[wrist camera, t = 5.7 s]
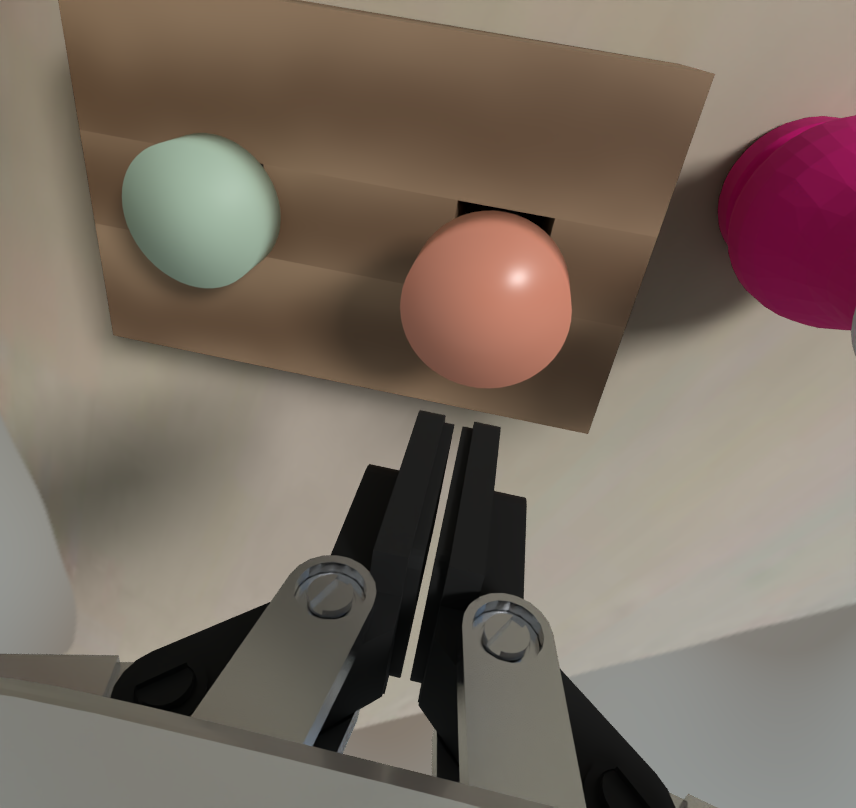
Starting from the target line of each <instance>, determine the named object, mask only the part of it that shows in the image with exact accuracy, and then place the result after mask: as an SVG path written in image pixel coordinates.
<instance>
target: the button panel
mask: <svg viewBox="0 0 856 808" xmlns="http://www.w3.org/2000/svg"><path fill="white" fill-rule="evenodd" d="M58 1H59V8H60V14H61V20H62V26H63V32H64V38H65V44H66V50H67V56H68V62H69V68H70V74H71V80H72V86H73V93H74V99H75V105H76V111H77V117H78V123H79V129H80V135H81V141H82V147H83V153H84V159H85V165H86V172H87V178H88V184H89V190H90V196H91V202H92V208H93V214H94V220H95V226H96V232H97V238H98V244H99V250H100V257H101V263H102V269H103V275H104V281H105V287H106V293H107V299H108V305H109V311H110V317H111V323H112V329H113V335H115V336H120V337H125V338H129V339H134V340H139V341H144V342H149V343H153V344H158V345H163V346H168V347H173V348H177V349H182V350H187V351H192V352H197V353H201V354H206V355H211V356H216V357H221V358H226V359H230V360H235V361H240V362H245V363H250V364H254V365H259V366H264V367H269V368H274V369H278V370H283V371H288V372H293V373H298V374H302V375H307V376H312V377H317V378H322V379H326V380H331V381H336V382H341V383H346V384H350V385H355V386H360V387H365V388H370V389H374V390H379V391H384V392H389V393H394V394H398V395H403V396H408V397H413V398H418V399H423V400H427V401H432V402H437V403H442V404H447V405H451V406H456V407H461V408H466V409H471V410H475V411H480V412H485V413H490V414H495V415H499V416H504V417H509V418H514V419H519V420H523V421H528V422H533V423H538V424H543V425H547V426H552V427H557V428H562V429H567V430H571V431H576V432H581V433H586V434H588V433H589V430H590V427H591V424H592V421H593V418H594V416H595V413H596V410H597V407H598V404H599V401H600V399H601V396H602V393H603V390H604V387H605V384H606V382H607V379H608V376H609V373H610V370H611V367H612V365H613V362H614V359H615V356H616V353H617V350H618V347H619V345H620V342H621V339H622V336H623V333H624V330H625V328H626V325H627V322H628V319H629V316H630V313H631V311H632V308H633V305H634V302H635V299H636V296H637V294H638V291H639V288H640V285H641V282H642V279H643V277H644V274H645V271H646V268H647V265H648V262H649V260H650V257H651V254H652V251H653V248H654V245H655V243H656V240H657V237H658V234H659V231H660V228H661V226H662V223H663V220H664V217H665V214H666V211H667V208H668V206H669V203H670V200H671V197H672V194H673V191H674V189H675V186H676V183H677V180H678V177H679V174H680V172H681V169H682V166H683V163H684V160H685V157H686V155H687V152H688V149H689V146H690V143H691V140H692V138H693V135H694V132H695V129H696V126H697V123H698V121H699V118H700V115H701V112H702V109H703V106H704V104H705V101H706V98H707V95H708V92H709V89H710V87H711V84H712V81H713V78H714V75H715V74H713V73H709V72H706V71H702V70H699V69H695V68H691V67H688V66H684V65H681V64H676V63H670V62H664V61H658V60H652V59H646V58H640V57H634V56H628V55H622V54H616V53H610V52H604V51H598V50H592V49H586V48H580V47H574V46H568V45H562V44H557V43H551V42H545V41H539V40H533V39H527V38H521V37H515V36H509V35H503V34H497V33H491V32H485V31H479V30H473V29H467V28H461V27H455V26H449V25H443V24H437V23H431V22H425V21H420V20H414V19H408V18H402V17H396V16H390V15H384V14H378V13H372V12H366V11H360V10H354V9H348V8H342V7H336V6H330V5H324V4H318V3H312V2H306V1H300V0H58ZM194 133H209V134H215V135H219V136H222V137H225V138H227V139H230V140H232V141H233V142H235V143H237V144H239V145H240V146H242V147H243V148H244V149H246V150H247V151H248V152H249V153H250V154H251V155H253V156H254V157H255V158H256V160H257V161H258V162H259V163H261V164H263V165H264V169H265V171H266V172H267V174H268V176H269V177H270V179H271V181H272V183H273V185H274V188H275V190H276V193H277V196H278V200H279V205H280V213H281V222H280V230H279V235H278V238H277V240H276V243H275V245H274V247H273V249H272V250H271V251H270V253H269V254H268V255H267V256H266V257H265V258H264V259H263V260H262V261H261V262H260V263H258V264H257V265H256V266H255V267H253V268H252V269H251V270H250V271H249V272H247V273H246V274H245V275H244V276H243V277H241V278H240V279H238V280H237V281H236V282H234V283H231V284H229V285H227V286H223V287H219V288H199V287H194V286H190V285H187V284H184V283H182V282H179V281H177V280H175V279H173V278H171V277H170V276H168V275H167V274H165V273H164V272H162V271H161V270H160V269H159V268H157V267H156V266H155V265H154V264H153V263H152V262H151V261H150V260H149V259H148V258H147V257H146V256H145V255H144V253H143V252H142V251H141V249H140V248H139V247H138V245H137V244H136V242H135V240H134V238H133V237H132V235H131V233H130V230H129V228H128V226H127V223H126V220H125V216H124V212H123V207H122V186H123V181H124V177H125V174H126V172H127V169H128V168H129V166H130V164H131V162H132V161H133V160H134V159H135V157H136V156H137V155H139V154H140V153H141V152H142V151H143V150H145V149H147V148H148V147H150V146H153V145H156V144H158V143H162V142H165V141H168V140H172V139H175V138H178V137H181V136H185V135H189V134H194ZM468 202H470V203H475V204H481V205H486V206H491V207H497V208H502V209H508V210H513V211H518V212H524V213H529V214H534V215H540V216H545V218H544V222H543V227H542V229H543V230H544V231H545V232H546V233H547V234H548V235H549V236H550V237H551V238H552V239H553V241H554V242H555V244H556V245H557V246H558V248H559V250H560V251H561V253H562V255H563V257H564V260H565V263H566V265H567V270H568V274H569V283H570V294H571V306H572V315H571V323H570V328H569V332H568V335H567V337H566V340H565V342H564V344H563V346H562V348H561V349H560V351H559V352H558V354H557V355H556V356H555V358H554V359H553V360H552V361H551V362H550V363H549V364H548V365H547V366H546V367H545V368H544V369H543V370H541V371H540V372H539V373H537V374H536V375H534V376H532V377H531V378H529V379H527V380H524V381H522V382H520V383H517V384H514V385H511V386H506V387H501V388H475V387H469V386H465V385H461V384H458V383H455V382H453V381H450V380H448V379H446V378H444V377H442V376H441V375H439V374H438V373H436V372H435V371H433V370H432V369H431V368H429V367H428V366H427V365H426V364H425V363H424V362H423V361H422V360H421V359H420V358H419V357H418V355H417V354H416V353H415V351H414V350H413V348H412V347H411V345H410V343H409V341H408V339H407V337H406V335H405V332H404V329H403V325H402V321H401V313H400V300H401V293H402V288H403V285H404V282H405V279H406V277H407V275H408V273H409V271H410V269H411V267H412V265H413V264H414V262H415V260H416V258H417V256H418V255H419V253H420V251H421V249H422V248H423V246H424V245H425V243H426V242H427V240H428V239H429V238H430V237H431V236H432V235H433V234H434V233H435V232H436V231H437V230H438V229H439V228H441V227H442V226H443V225H445V224H446V223H448V222H449V221H451V220H453V219H455V218H457V217H460V216H462V215H465V214H466V211H467V205H468Z"/></svg>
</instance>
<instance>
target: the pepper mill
mask: <svg viewBox="0 0 856 808" xmlns="http://www.w3.org/2000/svg"><path fill="white" fill-rule="evenodd" d="M718 221H719V227H720V231H721V234H722V236H723V239H724V240H725V242H726V243H727V245H728V253H729V257H730V260H731V264H732V267H733V270H734V272H735V274H736V276H737V278H738V280H739V281H740V283H741V284H742V285H743V287H744V288H745V289H746V291H748V292H749V293H750V294H751V295H752V296H753V297H754V298H756V299H757V300H758V301H759V302H760V303H761V304H762V305H763V306H765V307H766V308H768V309H770V310H771V311H773V312H774V313H776V314H778V315H780V316H782V317H785V318H787V319H790V320H793V321H796V322H799V323H802V324H805V325H809V326H813V327H817V328H827V329H839V330H851V337H852V345H853V349H854V353H855V355H856V115H855V116H850V117H845V118H836V117H827V116H819V117H808V118H803V119H800V120H796V121H792V122H789V123H786V124H784V125H782V126H779V127H777V128H775V129H773V130H771V131H770V132H768V133H767V134H765V135H764V136H762V137H760V138H759V139H758V140H757V141H756V142H755V143H753V144H752V145H751V146H750V147H749V148H748V149H747V150H746V151H745V152H744V153H743V154H742V155H741V157H740V158H739V159H738V160H737V161H736V163H735V164H734V165H733V167H732V168H731V170H730V172H729V173H728V175H727V177H726V179H725V181H724V184H723V187H722V190H721V193H720V197H719V202H718Z"/></svg>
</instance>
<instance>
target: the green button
mask: <svg viewBox="0 0 856 808" xmlns="http://www.w3.org/2000/svg"><path fill="white" fill-rule="evenodd" d="M122 207H123V212H124V216H125V220H126V223H127V226H128V228H129V230H130V233H131V235H132V237H133V238H134V240H135V242H136V244H137V245H138V247H139V248H140V249H141V251H142V252H143V253H144V255H145V256H146V257H147V258H148V259H149V260H150V261H151V262H152V263H153V264H154V265H155V266H156V267H157V268H159V269H160V270H161V271H162V272H164V273H165V274H167V275H168V276H170V277H171V278H173V279H175V280H177V281H179V282H182V283H184V284H187V285H190V286H194V287H199V288H219V287H223V286H227V285H229V284H231V283H234V282H236V281H237V280H238V279H240V278H241V277H243V276H244V275H245V274H246V273H247V272H249V271H250V270H251V269H252V268H253V267H255V266H256V265H257V264H258V263H260V262H261V261H262V260H263V259H264V258H265V257H266V256H267V255H268V254H269V253H270V251H271V250H272V249H273V247H274V245H275V243H276V240H277V238H278V235H279V230H280V222H281V213H280V205H279V200H278V196H277V193H276V190H275V188H274V185H273V183H272V181H271V179H270V177H269V176H268V174H267V172H266V171H265V169H264V165H263V164H261V163H259V162H258V161H257V160H256V158H255V157H254V156H253V155H251V154H250V153H249V152H248V151H247V150H246V149H244V148H243V147H242V146H240V145H239V144H237V143H235V142H233V141H232V140H230V139H227V138H225V137H222V136H219V135H215V134H209V133H194V134H189V135H185V136H181V137H178V138H175V139H172V140H168V141H165V142H162V143H158V144H156V145H153V146H150V147H148V148H147V149H145V150H143V151H142V152H141V153H140V154H139V155H137V156H136V157H135V159H134V160H133V161H132V162H131V164H130V166H129V168H128V169H127V172H126V174H125V177H124V181H123V186H122Z"/></svg>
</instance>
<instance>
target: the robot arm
mask: <svg viewBox="0 0 856 808" xmlns="http://www.w3.org/2000/svg"><path fill="white" fill-rule="evenodd" d="M453 429H454V424H449V423H445V415H440V414H436V413H431V412H426V411H421V410H420V411H419V413H418V416H417V419H416V422H415V425H414V428H413V431H412V434H411V437H410V440H409V443H408V446H407V449H406V452H405V455H404V458H403V461H402V464H401V467H400V470H395V469H390V468H385V467H381V466H376V465H371V464H369V465H368V466H367V469H366V471H365V473H364V475H363V478H362V480H361V483H360V485H359V488H358V490H357V492H356V495H355V497H354V500H353V502H352V505H351V507H350V509H349V512H348V514H347V517H346V519H345V522H344V524H343V527H342V529H341V531H340V534H339V536H338V539H337V541H336V544H335V546H334V548H333V551H332V553H331V555H326V556H320V557H316V558H312V559H309V560H307V561H306V562H304V563H302V564H300V565H299V566H298V567H297V568H296V569H295V570H294V571H293V572H292V573H291V574H290V575H289V576H288V578H287V579H286V581H285V582H284V584H283V585H282V586H281V588H280V589H279V591H278V592H277V594H276V595H275V596H274V598H273V599H272V601H271V602H269V603H267V604H264V605H262V606H260V607H257V608H255V609H252V610H250V611H248V612H245V613H243V614H241V615H238V616H236V617H233V618H231V619H229V620H226V621H224V622H221V623H219V624H217V625H214V626H212V627H209V628H207V629H205V630H202V631H200V632H198V633H195V634H193V635H190V636H188V637H186V638H183V639H181V640H178V641H176V642H174V643H171V644H169V645H167V646H164V647H162V648H159V649H157V650H155V651H152V652H150V653H149V654H147V655H145V656H143V657H141V658H140V659H138V660H136V661H135V662H120V660H119V655H53V654H49V655H48V654H0V808H717V807H714V806H712V805H710V804H708V803H706V802H704V801H702V800H700V799H698V798H696V797H694V796H692V795H690V794H688V795H687V796H686V798H685V799H681V798H679V797H677V796H675V795H673V794H671V793H669V791H668V789H667V788H666V787H665V785H664V784H663V783H662V781H661V780H660V778H659V777H658V776H657V774H656V773H655V772H654V771H653V770H652V769H651V768H650V767H649V765H648V764H647V763H646V762H645V761H644V760H643V759H642V758H641V757H640V756H639V755H638V754H637V752H636V751H635V750H634V749H633V748H632V747H631V746H630V745H629V744H628V743H627V741H626V740H625V739H624V738H623V737H622V736H621V735H620V734H619V733H618V732H617V730H616V729H615V728H614V727H613V726H612V725H611V724H610V723H609V722H608V721H607V720H606V718H604V716H603V715H602V714H601V713H600V712H599V711H598V710H597V709H596V707H595V706H594V705H593V704H592V703H591V702H590V701H589V700H588V699H587V698H586V697H585V696H584V694H583V693H582V692H581V691H580V690H579V689H578V688H577V687H576V686H575V685H574V684H573V683H572V681H571V680H570V679H569V678H568V677H567V676H566V675H565V674H564V673H563V671H562V670H561V669H560V667H559V662H558V656H557V651H556V646H555V641H554V635H553V632H552V630H551V627H550V624H549V622H548V621H547V619H546V618H545V617H544V615H543V614H542V612H541V611H540V610H538V609H537V608H536V607H535V606H533V605H532V604H531V603H530V602H528V601H526V600H524V568H525V538H526V507H527V504H526V498H524V497H519V496H515V495H510V494H506V493H501V492H496V491H494V486H495V476H496V467H497V458H498V448H499V439H500V429H501V428H500V427H498V426H493V425H488V424H483V423H479V422H474V425H473V428H468V427H463V428H462V432H461V437H460V442H459V447H458V451H457V456H456V461H455V466H454V470H453V475H452V480H451V485H450V490H449V494H448V499H447V504H446V509H445V513H444V518H443V523H442V528H441V532H440V537H439V542H438V547H437V552H436V557H435V562H434V566H433V571H432V576H431V581H430V586H429V591H428V595H427V600H426V605H425V610H424V615H423V620H422V624H421V629H420V634H419V639H418V644H417V649H416V654H415V658H414V663H413V668H412V673H411V678H410V680H411V681H415V682H419V683H421V688H420V694H419V699H418V702H419V707H420V708H421V710H422V711H423V712H424V714H425V715H426V717H427V718H428V720H429V721H430V723H431V724H432V725H433V727H434V730H433V736H432V776H430V775H426V774H422V773H418V772H414V771H410V770H406V769H402V768H397V767H393V766H390V765H386V764H382V763H377V762H373V761H370V760H365V759H361V758H357V757H353V756H349V755H345V754H343V751H344V749H345V747H346V744H347V742H348V740H349V738H350V735H351V733H352V731H353V729H354V726H355V724H356V722H357V719H358V715H359V711H360V709H361V708H363V707H364V706H366V705H368V704H370V703H371V702H373V701H375V700H377V699H378V698H380V697H382V694H385V690H386V686H387V682H388V678H389V675H390V676H394V677H398V678H400V677H401V673H402V669H403V664H404V660H405V655H406V651H407V646H408V642H409V637H410V633H411V628H412V624H413V619H414V615H415V610H416V606H417V601H418V597H419V592H420V588H421V583H422V579H423V574H424V570H425V565H426V561H427V556H428V552H429V547H430V543H431V538H432V534H433V529H434V524H435V519H436V514H437V509H438V504H439V499H440V494H441V489H442V484H443V479H444V474H445V469H446V464H447V459H448V454H449V449H450V444H451V439H452V434H453Z"/></svg>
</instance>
